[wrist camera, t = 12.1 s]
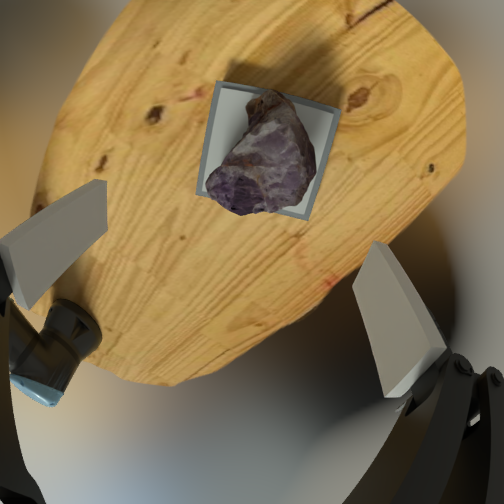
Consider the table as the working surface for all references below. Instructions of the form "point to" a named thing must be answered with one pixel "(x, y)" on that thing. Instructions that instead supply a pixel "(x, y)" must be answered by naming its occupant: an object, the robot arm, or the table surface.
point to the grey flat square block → (236, 123)
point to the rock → (266, 160)
